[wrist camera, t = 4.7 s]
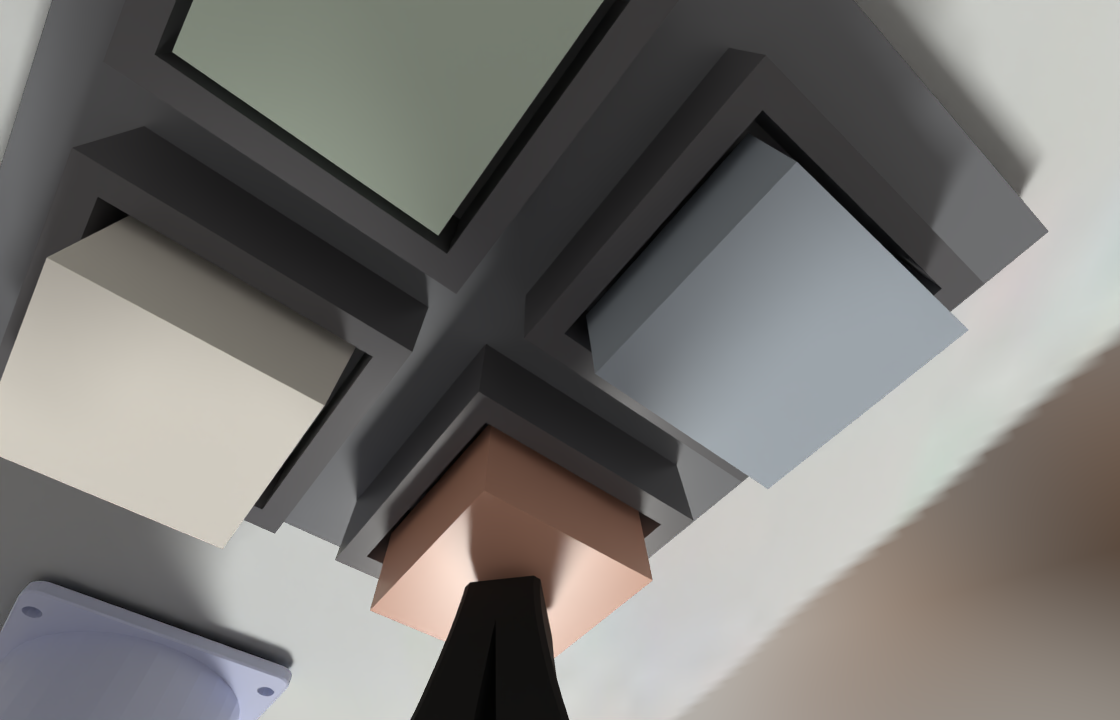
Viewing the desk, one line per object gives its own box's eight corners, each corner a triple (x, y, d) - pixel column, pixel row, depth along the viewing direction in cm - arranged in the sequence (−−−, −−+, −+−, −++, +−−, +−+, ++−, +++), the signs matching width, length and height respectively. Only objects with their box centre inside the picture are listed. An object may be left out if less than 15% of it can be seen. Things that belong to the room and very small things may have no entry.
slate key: (735, 420, 12) (768, 488, 10) (586, 315, 11) (595, 373, 9) (898, 277, 11) (967, 329, 9) (748, 133, 9) (797, 162, 7)
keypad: (547, 611, 18) (549, 701, 16) (-23, 343, 13) (-149, 419, 11) (1013, 215, 12) (1128, 266, 10) (301, -606, 7) (173, -938, 4)
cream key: (266, 474, 12) (222, 549, 11) (63, 378, 11) (-25, 446, 9) (358, 342, 11) (324, 405, 9) (134, 212, 9) (46, 257, 8)
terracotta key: (531, 599, 15) (530, 677, 13) (391, 533, 13) (369, 610, 12) (637, 506, 13) (652, 580, 12) (491, 420, 12) (484, 490, 10)
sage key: (454, 198, 11) (438, 235, 9) (239, 43, 9) (171, 51, 8) (596, -5, 9) (610, -9, 7) (364, -228, 8) (314, -296, 6)
